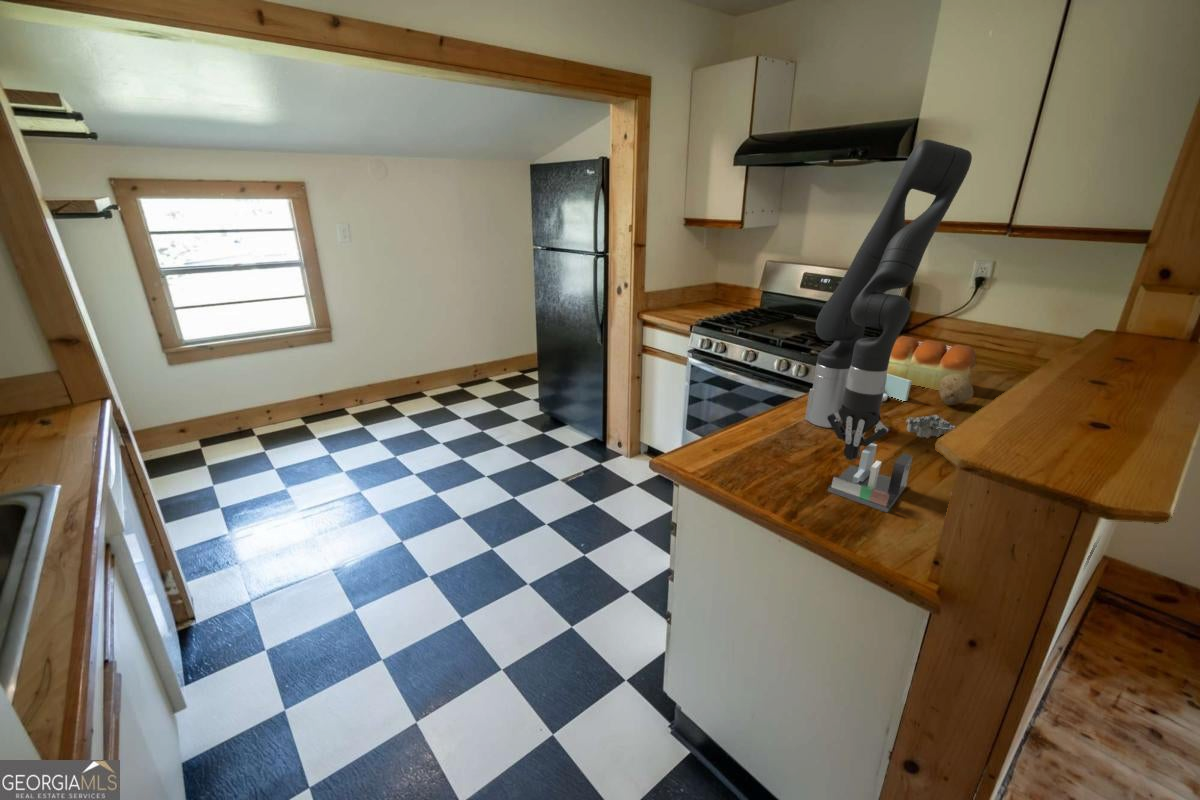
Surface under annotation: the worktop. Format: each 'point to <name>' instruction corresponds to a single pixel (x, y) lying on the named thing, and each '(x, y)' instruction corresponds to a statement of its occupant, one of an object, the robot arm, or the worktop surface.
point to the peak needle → (874, 474)
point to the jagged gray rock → (928, 426)
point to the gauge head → (865, 463)
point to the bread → (929, 361)
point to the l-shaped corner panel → (896, 388)
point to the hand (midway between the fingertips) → (850, 458)
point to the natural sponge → (955, 389)
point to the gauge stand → (883, 492)
